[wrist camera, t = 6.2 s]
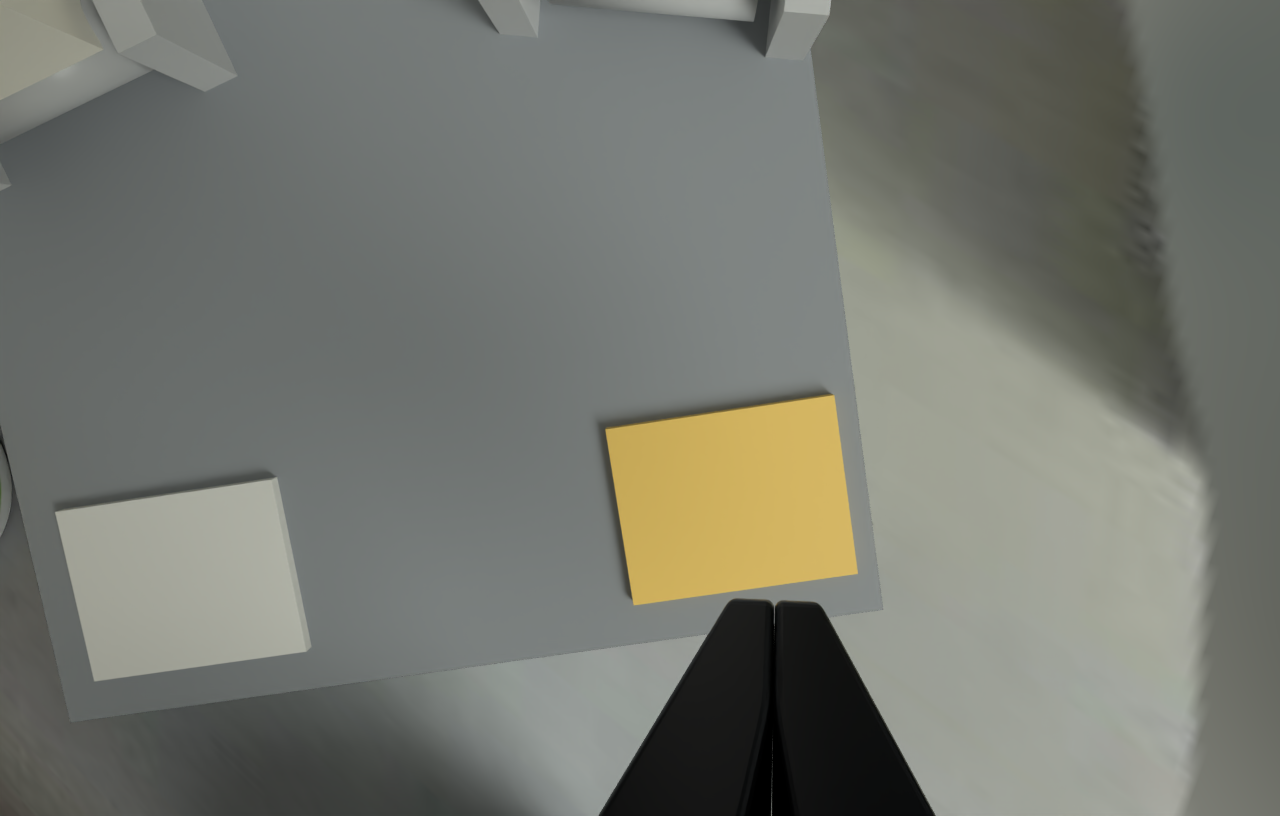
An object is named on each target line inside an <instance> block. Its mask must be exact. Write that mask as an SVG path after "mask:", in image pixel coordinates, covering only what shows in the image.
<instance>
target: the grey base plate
mask: <svg viewBox="0 0 1280 816" xmlns="http://www.w3.org/2000/svg"><path fill="white" fill-rule="evenodd" d="M92 1H93V3H94V5H95V7H96V9H97V11H98V13H99V15H100V17H101V19H102V21H103V24H104V26H105V28H106V30H107V32H108V34H109V36H110V38H111V40H112V42H113V44H114V46H115V48H116V50H117V52H118V54H120V55H122V56H125V57H127V58H129V59H131V60H134V61H136V62H138V63H141V64H143V65H145V66H147V67H150V68H152V69H153V70H152V71H150V72H148V73H146V74H144V75H142V76H140V77H138V78H136V79H134V80H132V81H130V82H128V83H126V84H124V85H121V86H119V87H117V88H115V89H113V90H111V91H109V92H107V93H105V94H103V95H101V96H99V97H97V98H95V99H93V100H91V101H88V102H86V103H84V104H82V105H80V106H78V107H76V108H74V109H72V110H70V111H68V112H66V113H64V114H62V115H60V116H58V117H56V118H53V119H51V120H49V121H47V122H45V123H43V124H41V125H39V126H37V127H35V128H33V129H31V130H29V131H27V132H25V133H23V134H20V135H18V136H16V137H14V138H12V139H10V140H8V141H6V142H4V143H2V144H0V426H1V430H2V434H3V439H4V443H5V447H6V451H7V456H8V460H9V464H10V468H11V473H12V477H13V481H14V485H15V490H16V494H17V498H18V502H19V507H20V511H21V515H22V519H23V524H24V528H25V532H26V536H27V541H28V545H29V549H30V553H31V558H32V562H33V566H34V570H35V575H36V579H37V583H38V587H39V592H40V596H41V600H42V604H43V609H44V613H45V617H46V621H47V626H48V630H49V634H50V638H51V643H52V647H53V651H54V655H55V660H56V664H57V668H58V672H59V677H60V681H61V685H62V689H63V694H64V698H65V702H66V706H67V711H68V715H69V719H70V723H72V722H79V721H86V720H93V719H100V718H108V717H115V716H122V715H129V714H136V713H144V712H151V711H158V710H165V709H172V708H180V707H187V706H194V705H201V704H208V703H216V702H223V701H230V700H237V699H244V698H251V697H259V696H266V695H273V694H280V693H287V692H295V691H302V690H309V689H316V688H323V687H331V686H338V685H345V684H352V683H359V682H367V681H374V680H381V679H388V678H395V677H403V676H410V675H417V674H424V673H431V672H439V671H446V670H453V669H460V668H467V667H475V666H482V665H489V664H496V663H503V662H511V661H518V660H525V659H532V658H539V657H547V656H554V655H561V654H568V653H575V652H583V651H590V650H597V649H604V648H611V647H618V646H626V645H633V644H640V643H647V642H654V641H662V640H669V639H676V638H683V637H690V636H698V635H705V634H709V632H710V630H711V629H712V627H713V625H714V624H715V622H716V620H717V619H718V617H719V615H720V614H721V612H722V611H723V609H724V607H725V606H726V604H727V603H728V602H729V601H730V600H732V599H734V598H744V599H766V600H769V601H771V602H772V603H773V605H774V621H775V605H776V604H777V602H779V601H781V600H790V601H812V602H817V603H818V604H820V605H821V606H822V608H823V609H824V611H825V612H826V614H827V616H828V617H834V616H842V615H849V614H856V613H863V612H870V611H878V610H883V604H882V596H881V589H880V581H879V573H878V565H877V558H876V550H875V542H874V535H873V527H872V519H871V511H870V504H869V496H868V488H867V481H866V473H865V465H864V457H863V450H862V442H861V434H860V427H859V419H858V411H857V403H856V396H855V388H854V380H853V373H852V365H851V357H850V349H849V342H848V334H847V326H846V319H845V311H844V303H843V295H842V288H841V280H840V272H839V265H838V257H837V249H836V241H835V234H834V226H833V218H832V211H831V203H830V195H829V187H828V180H827V172H826V164H825V157H824V149H823V141H822V133H821V126H820V118H819V110H818V103H817V95H816V87H815V79H814V72H813V64H812V56H811V49H810V48H811V46H812V45H813V43H814V41H815V39H816V38H817V36H818V34H819V32H820V31H821V29H822V27H823V25H824V24H825V22H826V20H827V19H828V17H829V14H830V5H831V0H758V3H757V8H756V14H755V18H754V21H753V22H750V21H739V20H727V19H715V18H704V17H692V16H680V15H669V14H657V13H645V12H634V11H622V10H610V9H599V8H587V7H575V6H564V5H552V4H550V3H549V1H548V0H92Z"/></svg>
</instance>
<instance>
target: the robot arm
mask: <svg viewBox="0 0 1280 816" xmlns="http://www.w3.org/2000/svg"><path fill="white" fill-rule="evenodd" d="M772 739H773V749H772ZM771 800H772V816H936V815H935V813H934V812H933V810H932V808H931V806H930V804H929V802H928V801H927V799H926V797H925V795H924V793H923V791H922V790H921V788H920V786H919V784H918V782H917V780H916V778H915V777H914V775H913V773H912V771H911V769H910V767H909V766H908V764H907V762H906V760H905V758H904V756H903V754H902V753H901V751H900V749H899V747H898V745H897V743H896V742H895V740H894V738H893V736H892V734H891V732H890V730H889V729H888V727H887V725H886V723H885V721H884V719H883V718H882V716H881V714H880V712H879V710H878V708H877V707H876V705H875V703H874V701H873V699H872V697H871V695H870V694H869V692H868V690H867V688H866V686H865V684H864V683H863V681H862V679H861V677H860V675H859V673H858V671H857V670H856V668H855V666H854V664H853V662H852V660H851V659H850V657H849V655H848V653H847V651H846V649H845V648H844V646H843V644H842V642H841V640H840V638H839V636H838V635H837V633H836V631H835V629H834V627H833V625H832V624H831V622H830V620H829V618H828V616H827V614H826V612H825V611H824V609H823V608H822V606H821V605H820V604H818V603H817V602H812V601H790V600H781V601H779V602H777V604H776V605H775V621H774V605H773V603H772V602H771V601H769V600H766V599H744V598H734V599H732V600H730V601H729V602H728V603H727V604H726V606H725V607H724V609H723V611H722V612H721V614H720V615H719V617H718V619H717V620H716V622H715V624H714V625H713V627H712V629H711V630H710V632H709V634H708V635H707V637H706V639H705V640H704V642H703V644H702V645H701V647H700V649H699V650H698V652H697V654H696V655H695V657H694V658H693V660H692V662H691V663H690V665H689V667H688V668H687V670H686V672H685V673H684V675H683V677H682V678H681V680H680V682H679V683H678V685H677V687H676V688H675V690H674V692H673V693H672V695H671V696H670V698H669V700H668V701H667V703H666V705H665V706H664V708H663V710H662V711H661V713H660V715H659V716H658V718H657V720H656V721H655V723H654V725H653V726H652V728H651V730H650V731H649V733H648V735H647V736H646V738H645V739H644V741H643V743H642V744H641V746H640V748H639V749H638V751H637V753H636V754H635V756H634V758H633V759H632V761H631V763H630V764H629V766H628V768H627V769H626V771H625V773H624V774H623V776H622V778H621V779H620V781H619V782H618V784H617V786H616V787H615V789H614V791H613V792H612V794H611V796H610V797H609V799H608V801H607V802H606V804H605V806H604V807H603V809H602V811H601V812H600V814H599V816H771Z"/></svg>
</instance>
